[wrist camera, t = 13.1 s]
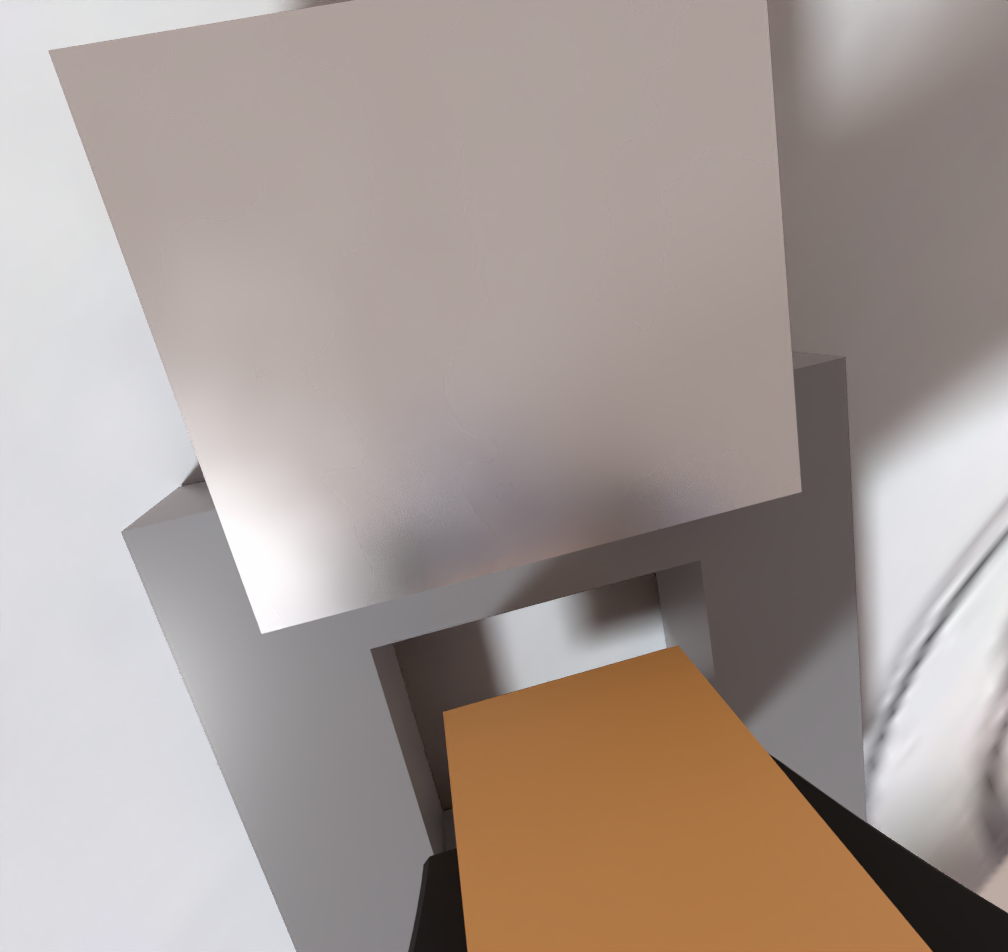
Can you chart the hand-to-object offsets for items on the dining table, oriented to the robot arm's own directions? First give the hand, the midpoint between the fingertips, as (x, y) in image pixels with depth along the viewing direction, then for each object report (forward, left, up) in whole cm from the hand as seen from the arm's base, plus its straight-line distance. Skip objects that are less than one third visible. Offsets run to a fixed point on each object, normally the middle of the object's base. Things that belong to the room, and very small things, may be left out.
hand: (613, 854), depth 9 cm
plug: (0, 0, -2) cm, 2 cm away
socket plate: (0, 0, -5) cm, 5 cm away
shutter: (+8, 0, -2) cm, 8 cm away
